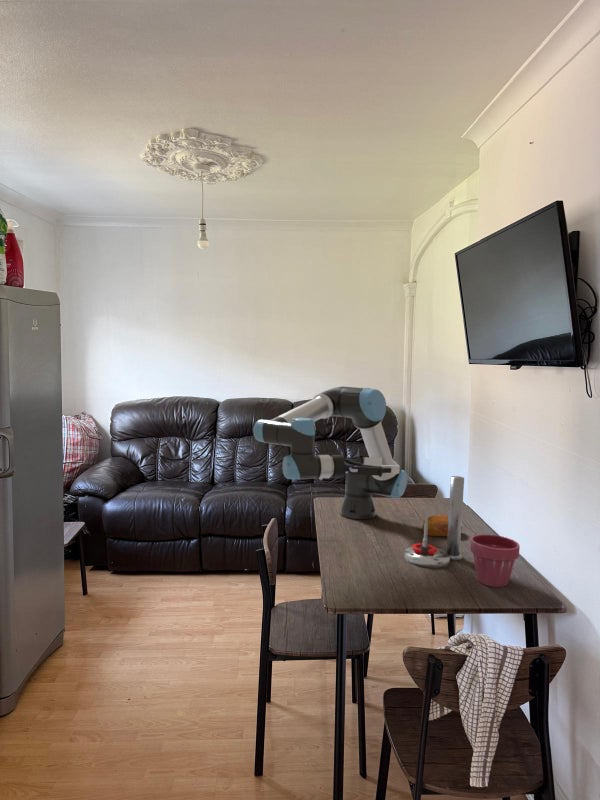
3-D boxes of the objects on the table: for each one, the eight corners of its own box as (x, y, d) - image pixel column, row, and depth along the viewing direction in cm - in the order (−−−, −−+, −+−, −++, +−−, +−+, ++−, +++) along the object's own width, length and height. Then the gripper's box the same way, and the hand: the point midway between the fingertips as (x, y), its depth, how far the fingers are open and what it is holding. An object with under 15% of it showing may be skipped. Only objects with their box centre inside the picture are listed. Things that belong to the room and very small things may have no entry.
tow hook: (411, 545, 200) (411, 553, 191) (413, 509, 199) (414, 516, 190) (435, 547, 199) (437, 556, 189) (437, 511, 198) (439, 518, 189)
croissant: (464, 544, 216) (468, 524, 215) (424, 537, 215) (429, 517, 214) (452, 531, 230) (456, 512, 229) (415, 525, 229) (419, 506, 229)
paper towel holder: (397, 553, 197) (401, 474, 195) (449, 549, 203) (453, 472, 201) (417, 569, 183) (422, 484, 180) (473, 564, 189) (478, 482, 186)
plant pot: (507, 573, 182) (510, 534, 181) (524, 591, 168) (527, 550, 167) (463, 571, 182) (465, 532, 181) (475, 589, 168) (478, 547, 167)
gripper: (317, 469, 195) (373, 468, 201) (343, 487, 171) (406, 484, 178) (318, 448, 195) (374, 447, 201) (344, 462, 171) (407, 461, 177)
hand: (389, 465), depth 189 cm, fingers open, 13 cm apart
